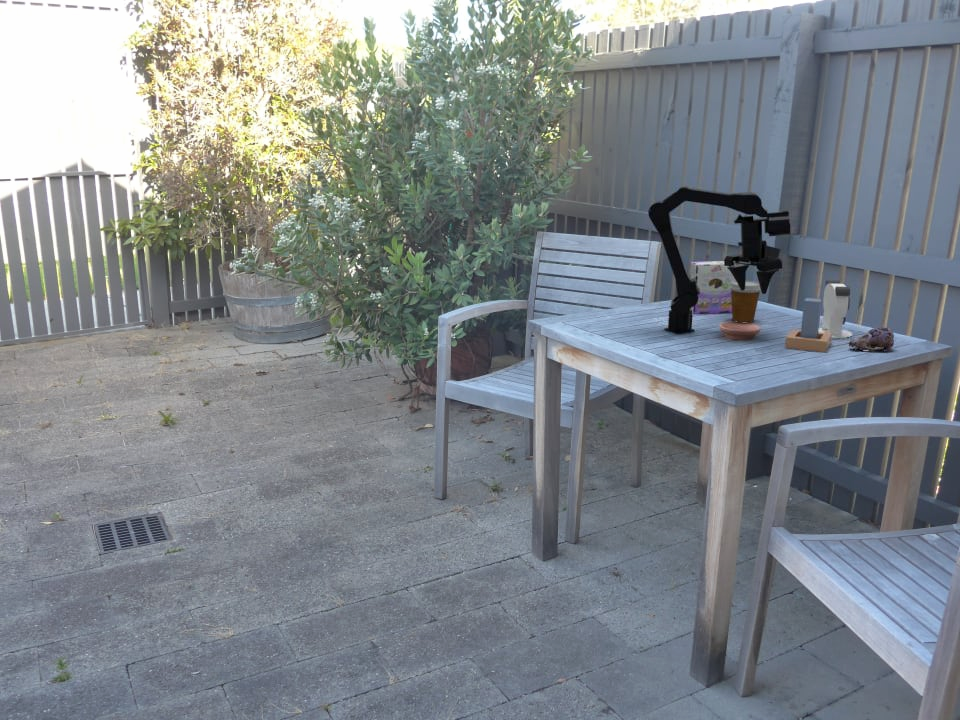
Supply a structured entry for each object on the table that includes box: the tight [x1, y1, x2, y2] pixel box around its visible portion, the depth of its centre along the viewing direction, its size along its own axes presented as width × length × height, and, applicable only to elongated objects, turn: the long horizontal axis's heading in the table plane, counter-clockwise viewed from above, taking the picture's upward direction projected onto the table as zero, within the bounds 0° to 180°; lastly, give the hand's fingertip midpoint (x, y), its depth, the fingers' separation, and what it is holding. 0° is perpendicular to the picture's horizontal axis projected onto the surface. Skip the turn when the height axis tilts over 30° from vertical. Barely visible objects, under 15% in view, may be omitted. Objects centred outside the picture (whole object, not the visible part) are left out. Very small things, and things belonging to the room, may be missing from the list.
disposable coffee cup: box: [730, 280, 761, 324], centre depth 260 cm, size 10×10×12 cm
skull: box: [848, 326, 895, 352], centre depth 228 cm, size 12×8×6 cm, turn 90°
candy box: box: [689, 260, 736, 315], centre depth 273 cm, size 14×6×16 cm, turn 94°
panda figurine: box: [818, 280, 853, 340], centre depth 243 cm, size 12×11×15 cm
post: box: [800, 297, 823, 339], centre depth 231 cm, size 4×4×13 cm
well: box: [784, 329, 833, 353], centre depth 232 cm, size 10×10×3 cm
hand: (753, 291), depth 242 cm, fingers open, 9 cm apart
